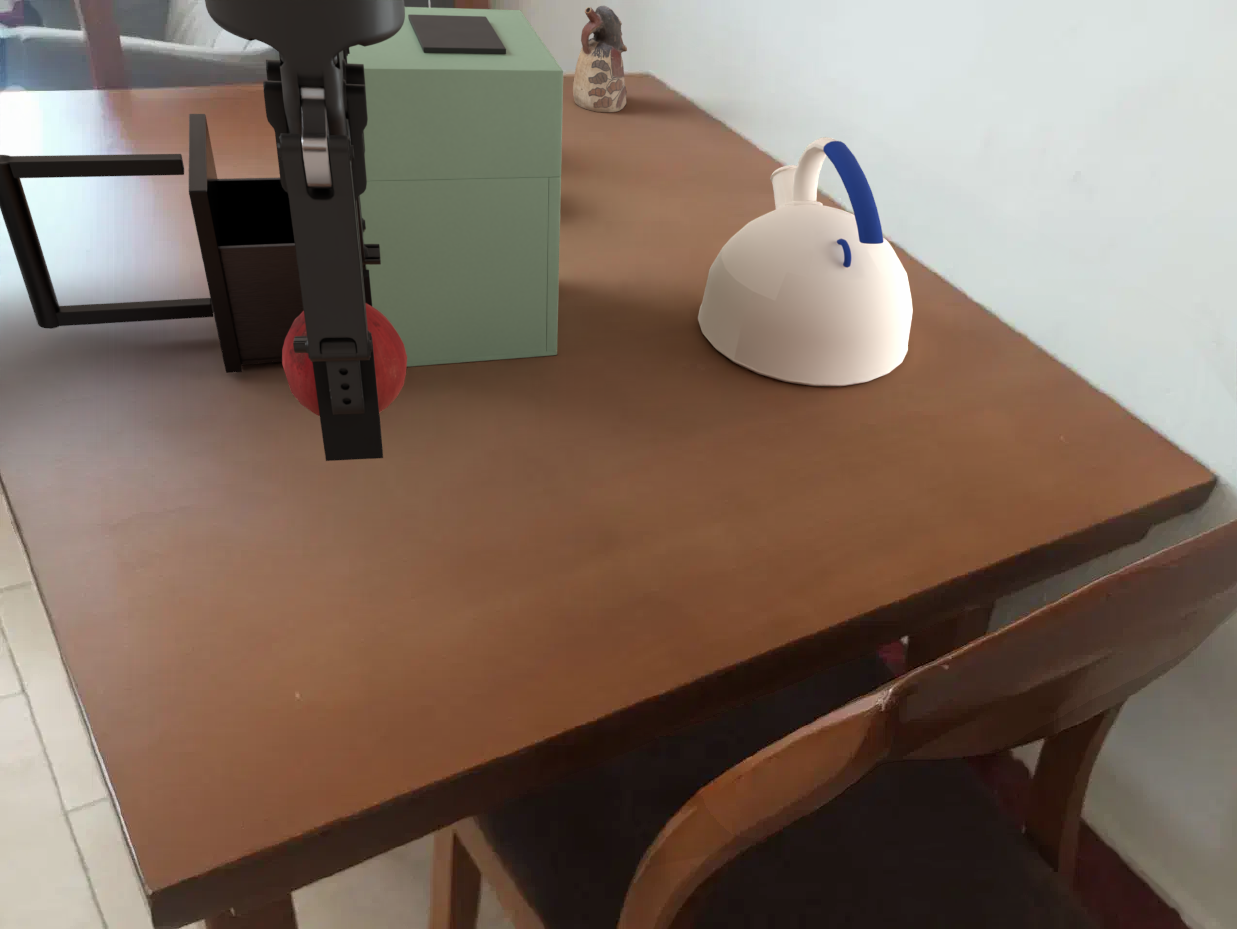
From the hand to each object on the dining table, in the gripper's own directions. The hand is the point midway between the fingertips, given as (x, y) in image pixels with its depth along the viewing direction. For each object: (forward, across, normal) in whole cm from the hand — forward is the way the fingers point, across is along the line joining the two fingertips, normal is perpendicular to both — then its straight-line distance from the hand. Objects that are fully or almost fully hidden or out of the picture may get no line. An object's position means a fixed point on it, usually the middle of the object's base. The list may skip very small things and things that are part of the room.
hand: (353, 416), depth 56 cm
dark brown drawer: (+16, -38, -10) cm, 43 cm away
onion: (+1, 0, 0) cm, 1 cm away
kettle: (+17, -36, +40) cm, 56 cm away
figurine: (+17, -96, +31) cm, 103 cm away
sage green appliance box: (+17, -40, +7) cm, 44 cm away
